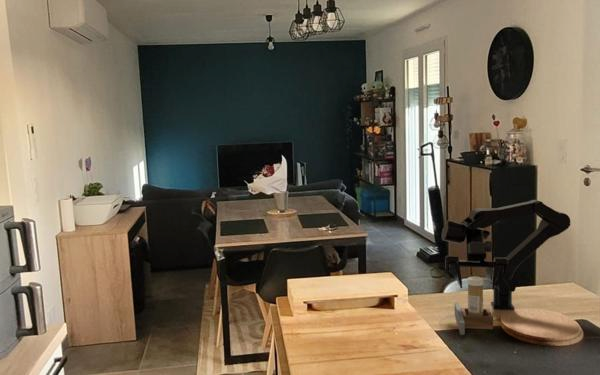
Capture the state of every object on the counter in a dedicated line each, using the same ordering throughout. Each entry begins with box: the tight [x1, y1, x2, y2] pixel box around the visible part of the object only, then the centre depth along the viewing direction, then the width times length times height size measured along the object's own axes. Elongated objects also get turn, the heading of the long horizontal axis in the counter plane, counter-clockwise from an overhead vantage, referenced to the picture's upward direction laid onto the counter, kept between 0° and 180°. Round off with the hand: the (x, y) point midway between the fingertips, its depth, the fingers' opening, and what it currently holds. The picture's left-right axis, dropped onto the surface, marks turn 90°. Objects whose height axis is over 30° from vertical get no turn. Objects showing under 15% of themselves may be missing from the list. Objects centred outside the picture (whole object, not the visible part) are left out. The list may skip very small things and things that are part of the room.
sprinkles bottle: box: [467, 276, 484, 316], centre depth 165 cm, size 5×5×13 cm
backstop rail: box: [454, 301, 466, 336], centre depth 166 cm, size 20×1×4 cm, turn 169°
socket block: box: [460, 307, 494, 330], centre depth 165 cm, size 8×8×4 cm
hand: (477, 288), depth 167 cm, fingers open, 9 cm apart
